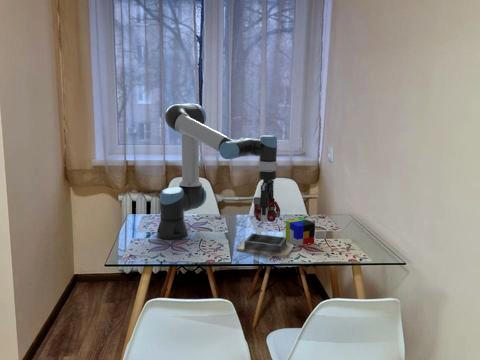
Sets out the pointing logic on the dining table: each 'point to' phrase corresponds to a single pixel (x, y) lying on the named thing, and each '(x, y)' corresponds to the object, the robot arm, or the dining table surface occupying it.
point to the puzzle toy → (300, 231)
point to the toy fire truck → (271, 212)
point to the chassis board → (266, 245)
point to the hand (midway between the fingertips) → (266, 218)
